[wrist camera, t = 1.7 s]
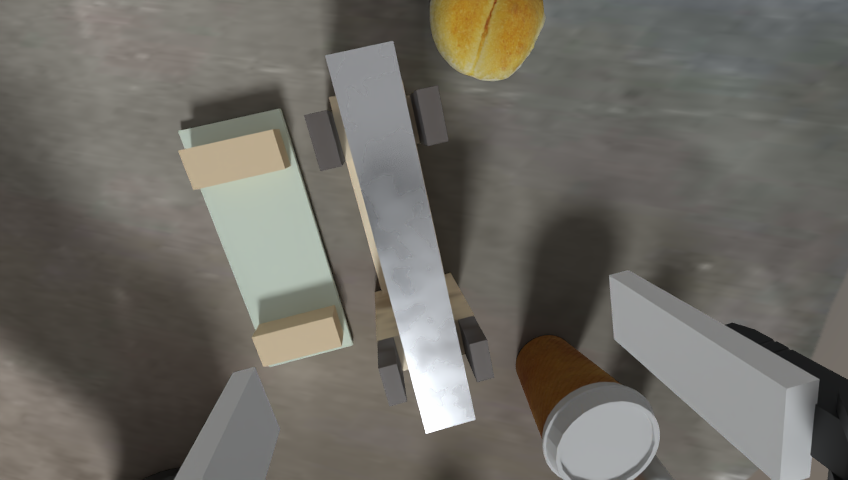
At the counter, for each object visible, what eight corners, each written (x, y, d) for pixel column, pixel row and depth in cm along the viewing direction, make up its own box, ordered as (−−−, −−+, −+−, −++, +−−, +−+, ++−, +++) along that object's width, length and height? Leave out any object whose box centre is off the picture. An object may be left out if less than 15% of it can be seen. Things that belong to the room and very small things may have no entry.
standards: (386, 333, 39) (394, 424, 27) (321, 99, 33) (294, 85, 21) (459, 314, 40) (498, 395, 28) (409, 80, 33) (433, 55, 21)
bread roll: (449, -55, 31) (460, -80, 27) (547, -2, 33) (571, -18, 29) (410, 52, 33) (415, 42, 29) (506, 96, 35) (523, 93, 31)
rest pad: (271, 363, 38) (263, 382, 36) (181, 131, 32) (162, 131, 29) (353, 341, 39) (351, 359, 36) (281, 108, 32) (272, 107, 30)
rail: (418, 395, 31) (426, 433, 27) (332, 66, 24) (325, 55, 20) (462, 383, 31) (475, 419, 27) (389, 54, 24) (392, 40, 20)
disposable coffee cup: (483, 357, 41) (527, 446, 30) (559, 303, 41) (633, 372, 29) (530, 415, 44) (586, 516, 33) (601, 365, 44) (684, 450, 32)
